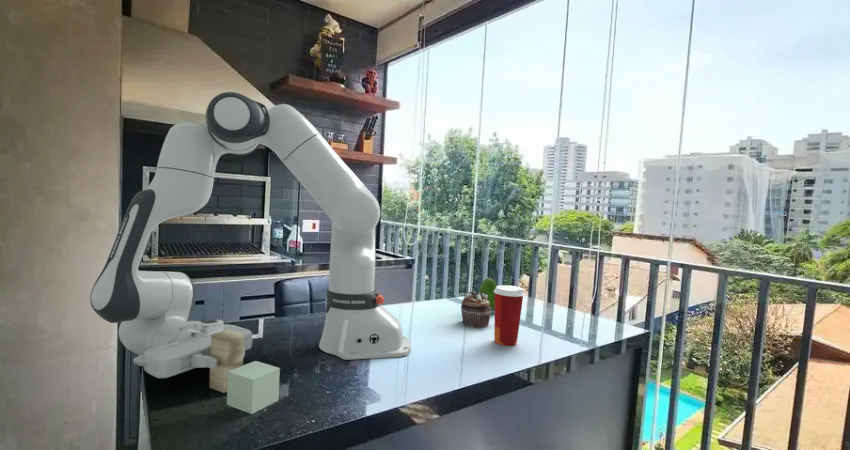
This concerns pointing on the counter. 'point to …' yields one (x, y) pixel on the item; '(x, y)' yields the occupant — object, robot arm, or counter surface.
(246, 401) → the sage block
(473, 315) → the cupcake
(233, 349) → the maple pillar
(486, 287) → the avocado
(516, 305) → the coffee cup
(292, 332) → the counter surface
